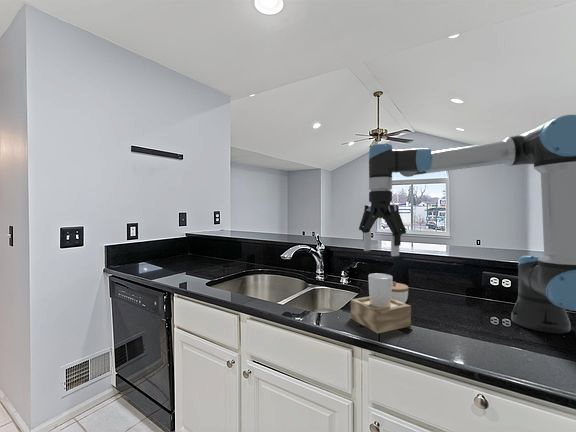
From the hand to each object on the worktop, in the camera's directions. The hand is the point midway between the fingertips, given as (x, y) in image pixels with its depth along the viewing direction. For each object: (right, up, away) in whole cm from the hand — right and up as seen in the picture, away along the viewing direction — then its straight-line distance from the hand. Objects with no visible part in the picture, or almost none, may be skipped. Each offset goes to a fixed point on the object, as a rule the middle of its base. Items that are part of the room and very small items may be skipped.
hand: (380, 253), depth 102 cm
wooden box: (0, -24, +1) cm, 24 cm away
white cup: (0, -18, 0) cm, 18 cm away
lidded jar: (+11, -24, +19) cm, 32 cm away
